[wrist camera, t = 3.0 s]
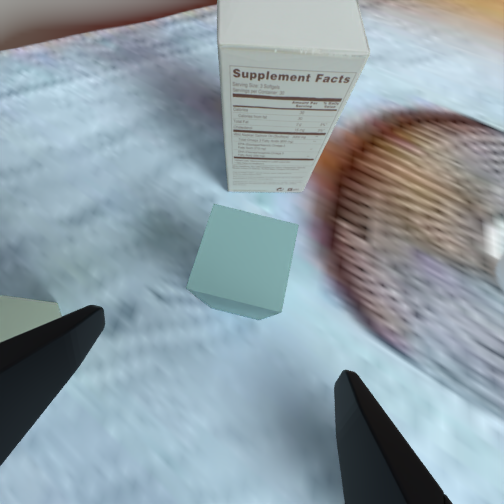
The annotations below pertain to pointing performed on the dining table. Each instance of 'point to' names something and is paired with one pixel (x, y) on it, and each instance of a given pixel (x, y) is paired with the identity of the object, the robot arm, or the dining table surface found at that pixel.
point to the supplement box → (284, 85)
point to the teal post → (243, 263)
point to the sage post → (24, 315)
